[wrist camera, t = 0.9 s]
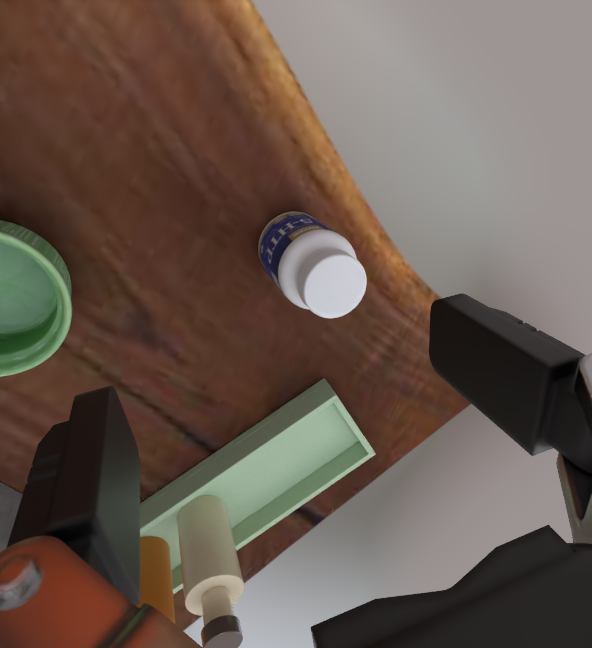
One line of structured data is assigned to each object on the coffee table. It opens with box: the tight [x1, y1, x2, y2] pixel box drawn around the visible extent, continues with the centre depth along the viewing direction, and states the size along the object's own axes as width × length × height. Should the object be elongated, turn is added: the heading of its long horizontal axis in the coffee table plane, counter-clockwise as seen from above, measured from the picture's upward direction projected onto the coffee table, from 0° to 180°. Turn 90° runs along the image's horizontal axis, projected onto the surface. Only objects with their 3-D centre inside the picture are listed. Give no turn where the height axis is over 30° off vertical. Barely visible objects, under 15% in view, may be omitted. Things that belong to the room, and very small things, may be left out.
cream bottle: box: [177, 495, 244, 648], centre depth 35 cm, size 5×5×12 cm
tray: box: [140, 378, 376, 594], centre depth 40 cm, size 9×27×3 cm, turn 120°
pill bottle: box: [258, 212, 367, 318], centre depth 29 cm, size 5×5×9 cm
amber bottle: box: [135, 536, 175, 624], centre depth 35 cm, size 5×5×12 cm
